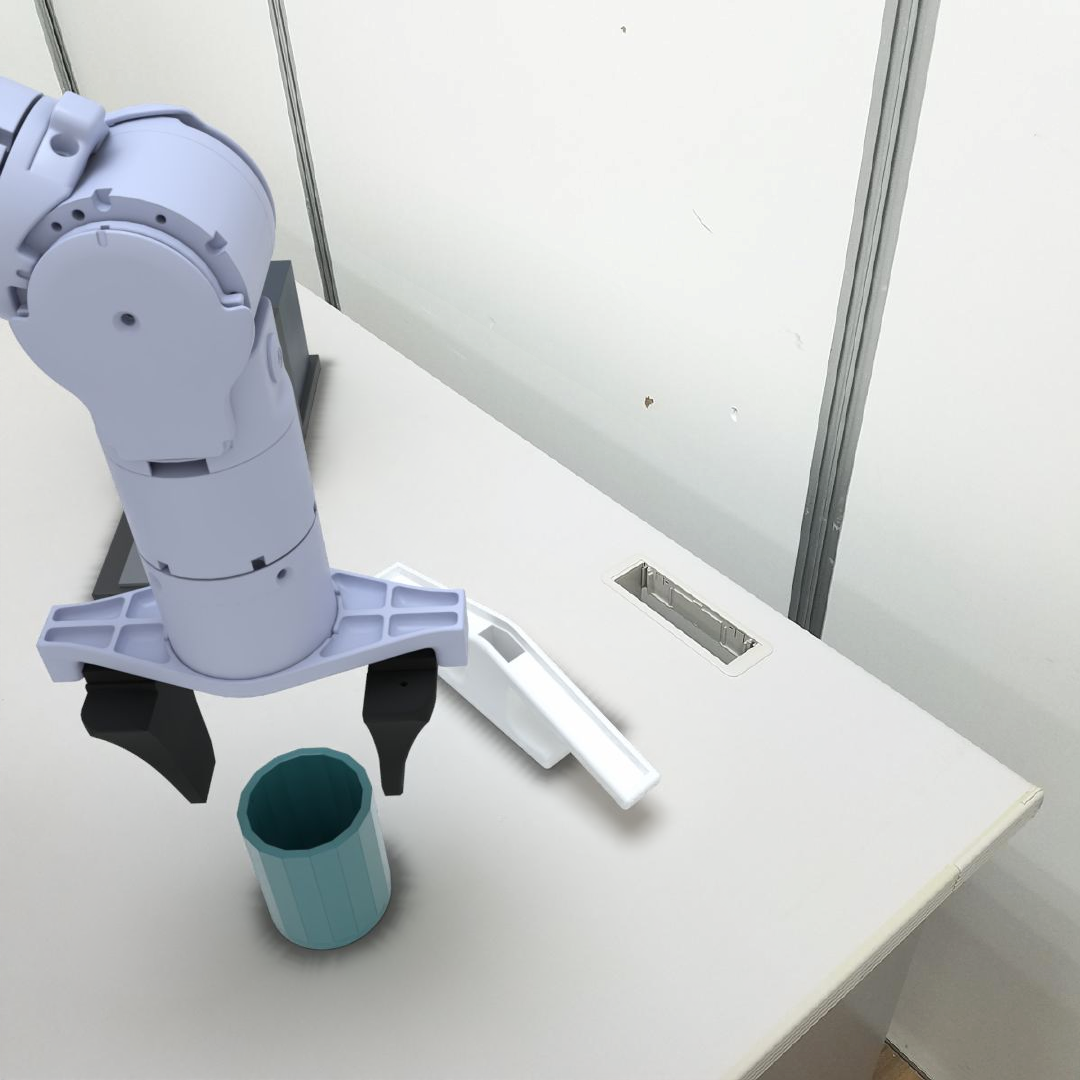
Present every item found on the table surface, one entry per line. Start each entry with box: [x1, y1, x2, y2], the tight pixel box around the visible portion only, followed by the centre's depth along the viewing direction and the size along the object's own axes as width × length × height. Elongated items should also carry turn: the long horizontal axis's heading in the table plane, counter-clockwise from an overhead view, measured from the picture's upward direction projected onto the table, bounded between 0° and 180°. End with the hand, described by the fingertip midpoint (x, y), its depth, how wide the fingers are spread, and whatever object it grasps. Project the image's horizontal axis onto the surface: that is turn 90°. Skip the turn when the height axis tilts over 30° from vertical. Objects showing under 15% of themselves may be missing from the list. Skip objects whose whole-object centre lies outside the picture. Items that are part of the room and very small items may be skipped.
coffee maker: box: [91, 259, 322, 601], centre depth 71 cm, size 24×10×10 cm, turn 2°
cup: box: [236, 746, 392, 950], centre depth 49 cm, size 5×5×7 cm
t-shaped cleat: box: [372, 561, 662, 811], centre depth 57 cm, size 4×20×5 cm, turn 42°
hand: (299, 779), depth 45 cm, fingers open, 7 cm apart
